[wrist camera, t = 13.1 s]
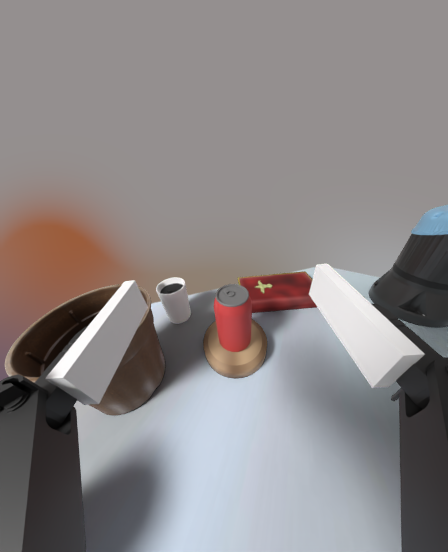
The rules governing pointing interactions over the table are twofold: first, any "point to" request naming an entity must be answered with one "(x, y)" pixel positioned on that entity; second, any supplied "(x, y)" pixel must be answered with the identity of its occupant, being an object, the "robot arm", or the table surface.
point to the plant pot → (73, 318)
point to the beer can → (233, 317)
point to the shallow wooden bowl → (235, 353)
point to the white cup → (174, 299)
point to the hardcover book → (279, 291)
